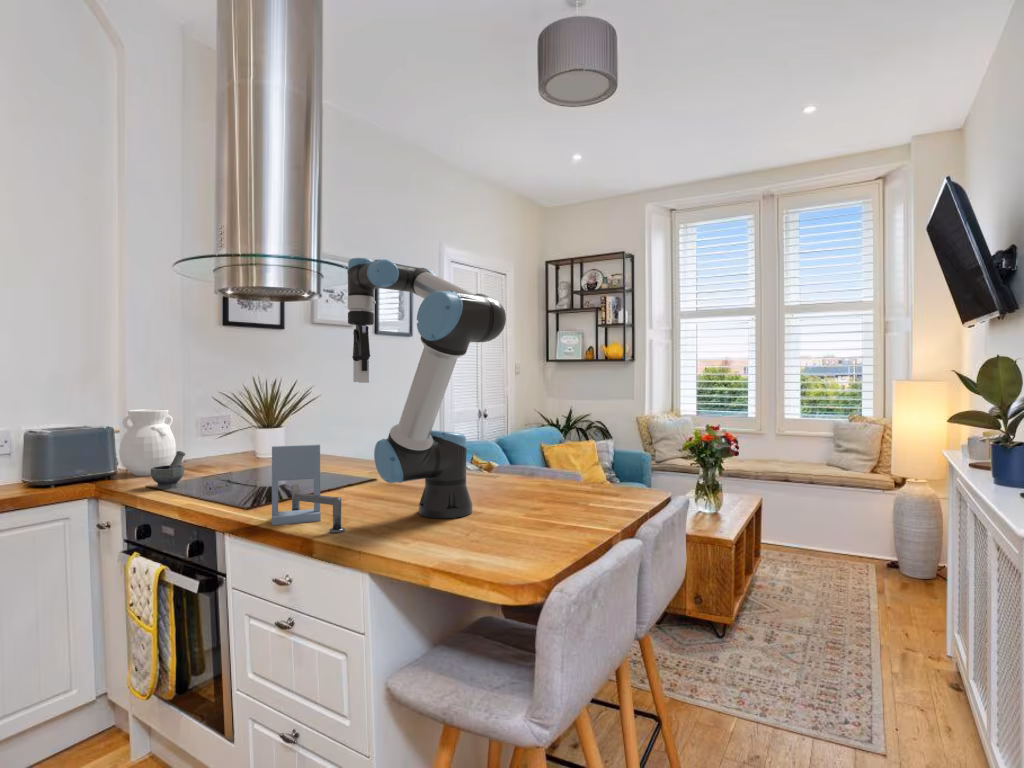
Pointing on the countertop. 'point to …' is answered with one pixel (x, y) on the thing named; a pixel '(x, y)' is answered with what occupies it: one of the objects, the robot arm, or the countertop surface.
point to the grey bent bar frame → (322, 500)
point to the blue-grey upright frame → (295, 467)
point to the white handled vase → (147, 441)
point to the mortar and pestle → (169, 473)
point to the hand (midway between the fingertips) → (360, 382)
